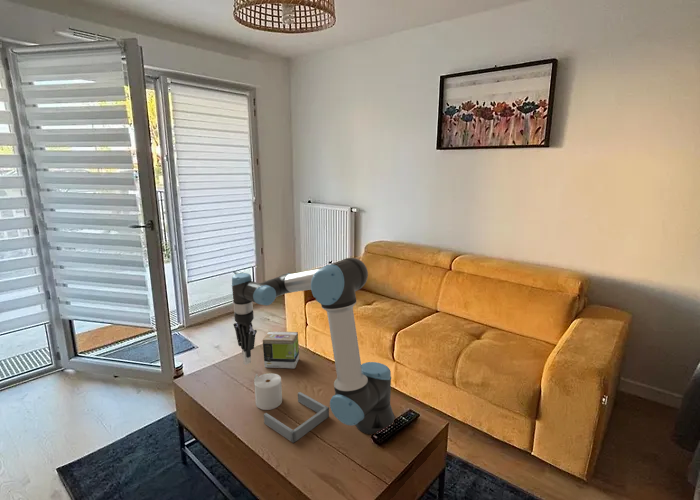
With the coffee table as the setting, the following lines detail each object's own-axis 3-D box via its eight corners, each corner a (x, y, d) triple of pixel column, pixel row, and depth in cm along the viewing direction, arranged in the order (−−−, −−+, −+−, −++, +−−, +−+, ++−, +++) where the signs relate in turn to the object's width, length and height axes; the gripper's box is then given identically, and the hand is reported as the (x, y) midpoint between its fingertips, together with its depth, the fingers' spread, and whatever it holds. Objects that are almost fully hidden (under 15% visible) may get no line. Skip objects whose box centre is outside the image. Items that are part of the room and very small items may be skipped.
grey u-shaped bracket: (329, 416, 150) (328, 407, 149) (293, 443, 136) (292, 433, 135) (300, 400, 160) (299, 391, 159) (264, 423, 146) (263, 414, 145)
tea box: (299, 358, 193) (298, 331, 189) (294, 369, 183) (293, 340, 180) (270, 357, 194) (268, 330, 191) (263, 368, 185) (262, 339, 181)
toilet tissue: (276, 411, 153) (275, 389, 150) (248, 408, 155) (246, 386, 153) (286, 395, 163) (284, 374, 161) (259, 392, 165) (257, 371, 163)
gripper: (261, 312, 156) (264, 364, 162) (241, 304, 164) (245, 354, 170) (245, 318, 151) (249, 372, 157) (226, 309, 159) (230, 361, 165)
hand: (247, 363), depth 163 cm, fingers closed
